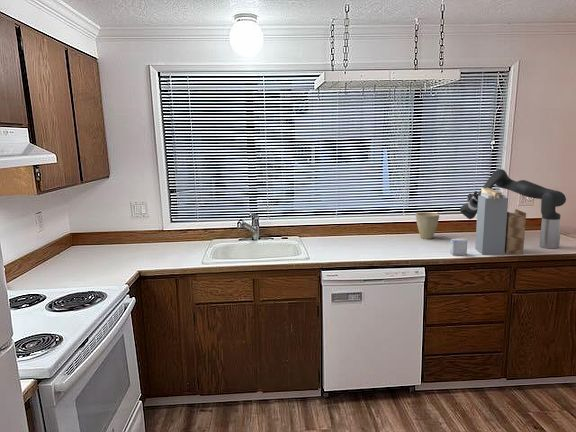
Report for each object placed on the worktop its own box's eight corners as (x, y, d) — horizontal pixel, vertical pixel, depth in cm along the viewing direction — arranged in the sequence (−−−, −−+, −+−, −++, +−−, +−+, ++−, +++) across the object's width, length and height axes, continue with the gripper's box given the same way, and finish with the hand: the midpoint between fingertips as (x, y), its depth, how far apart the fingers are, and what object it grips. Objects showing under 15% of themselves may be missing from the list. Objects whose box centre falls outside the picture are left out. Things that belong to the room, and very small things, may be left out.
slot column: (496, 249, 254) (500, 192, 248) (504, 254, 243) (508, 195, 237) (475, 248, 256) (478, 192, 250) (482, 254, 244) (485, 195, 238)
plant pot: (443, 239, 281) (444, 215, 278) (422, 241, 278) (423, 216, 275) (430, 234, 295) (431, 211, 292) (410, 236, 292) (411, 212, 289)
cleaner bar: (487, 193, 257) (487, 187, 256) (504, 199, 232) (504, 193, 231) (481, 193, 257) (481, 187, 257) (497, 199, 232) (498, 193, 231)
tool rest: (513, 248, 255) (516, 209, 251) (522, 254, 243) (526, 213, 238) (497, 248, 256) (500, 209, 252) (506, 254, 244) (509, 213, 239)
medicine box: (463, 253, 248) (464, 238, 246) (466, 255, 243) (467, 240, 242) (449, 253, 248) (450, 238, 246) (452, 255, 243) (453, 240, 242)
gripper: (463, 197, 275) (470, 186, 260) (486, 196, 273) (495, 186, 258) (464, 208, 272) (472, 198, 257) (488, 207, 271) (497, 198, 256)
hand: (484, 192), depth 258 cm, fingers open, 8 cm apart
